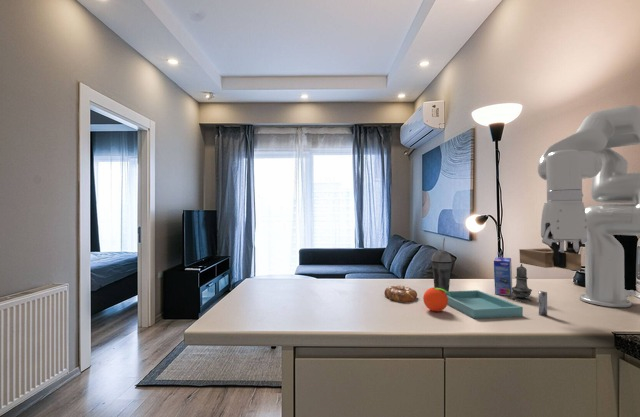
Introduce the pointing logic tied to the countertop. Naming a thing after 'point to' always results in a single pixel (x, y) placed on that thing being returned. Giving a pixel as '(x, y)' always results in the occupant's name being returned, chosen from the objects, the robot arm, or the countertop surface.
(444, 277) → the beverage cup
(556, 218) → the robot arm
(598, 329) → the countertop surface
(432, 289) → the clementine
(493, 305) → the tray
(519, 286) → the grey tiered figurine
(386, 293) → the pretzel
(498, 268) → the ink cartridge box
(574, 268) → the wooden frame with stub
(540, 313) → the grey metallic cylinder
